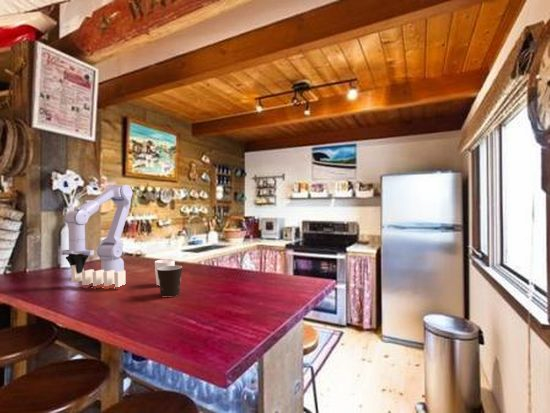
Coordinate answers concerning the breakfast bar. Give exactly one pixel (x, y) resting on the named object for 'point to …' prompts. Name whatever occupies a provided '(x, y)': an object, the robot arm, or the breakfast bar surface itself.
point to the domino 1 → (75, 274)
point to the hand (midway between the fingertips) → (77, 272)
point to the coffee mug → (169, 280)
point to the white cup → (161, 264)
